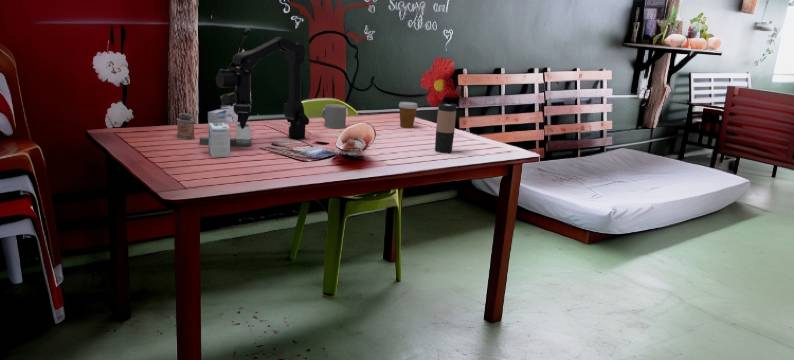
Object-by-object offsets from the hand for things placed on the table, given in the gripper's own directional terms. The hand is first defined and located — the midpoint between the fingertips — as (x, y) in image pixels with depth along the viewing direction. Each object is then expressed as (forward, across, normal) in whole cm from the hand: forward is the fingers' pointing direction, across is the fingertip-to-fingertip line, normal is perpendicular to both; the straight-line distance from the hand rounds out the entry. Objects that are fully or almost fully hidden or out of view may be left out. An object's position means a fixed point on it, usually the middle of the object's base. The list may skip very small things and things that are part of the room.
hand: (243, 126), depth 237 cm
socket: (+5, 0, 0) cm, 5 cm away
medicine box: (+8, -26, -12) cm, 30 cm away
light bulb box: (+8, +15, -8) cm, 19 cm away
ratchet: (+8, 0, -7) cm, 10 cm away
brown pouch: (+8, -10, -23) cm, 26 cm away
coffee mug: (+8, -44, +40) cm, 60 cm away
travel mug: (+8, +3, +82) cm, 83 cm away
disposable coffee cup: (+8, -47, +77) cm, 91 cm away
